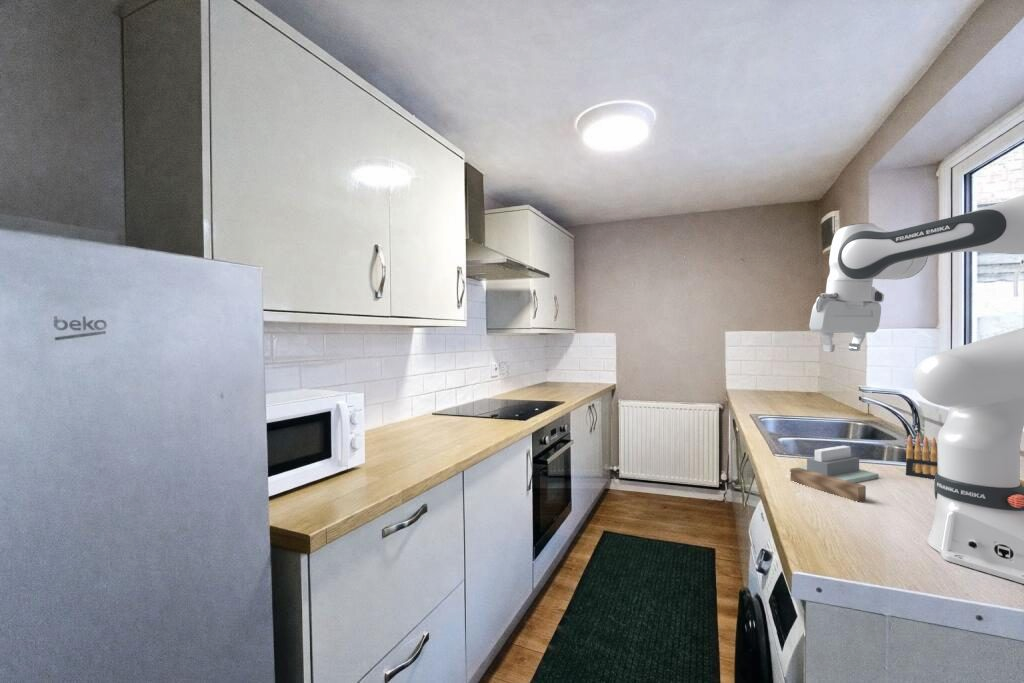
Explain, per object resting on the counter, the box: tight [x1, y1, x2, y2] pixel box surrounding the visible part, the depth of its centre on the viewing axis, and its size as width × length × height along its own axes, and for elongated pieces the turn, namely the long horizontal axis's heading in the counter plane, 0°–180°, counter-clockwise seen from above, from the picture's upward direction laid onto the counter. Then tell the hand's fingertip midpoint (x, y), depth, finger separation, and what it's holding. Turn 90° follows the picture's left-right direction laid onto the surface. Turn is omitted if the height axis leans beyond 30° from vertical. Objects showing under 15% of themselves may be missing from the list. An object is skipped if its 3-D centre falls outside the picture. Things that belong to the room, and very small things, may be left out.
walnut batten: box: [789, 466, 867, 503], centre depth 123 cm, size 18×3×4 cm, turn 22°
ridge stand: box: [789, 445, 879, 483], centre depth 136 cm, size 14×18×8 cm
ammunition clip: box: [905, 434, 938, 480], centre depth 132 cm, size 11×2×12 cm, turn 45°
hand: (841, 351), depth 111 cm, fingers open, 8 cm apart
